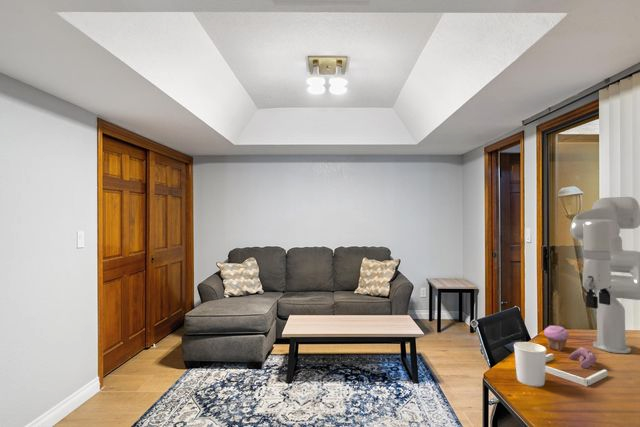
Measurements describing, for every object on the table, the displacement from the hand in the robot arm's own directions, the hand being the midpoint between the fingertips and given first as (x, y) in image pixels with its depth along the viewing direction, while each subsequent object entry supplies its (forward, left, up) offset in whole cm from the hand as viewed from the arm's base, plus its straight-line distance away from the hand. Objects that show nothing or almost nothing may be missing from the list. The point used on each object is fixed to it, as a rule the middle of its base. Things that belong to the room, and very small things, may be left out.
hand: (598, 305), depth 123 cm
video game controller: (-12, -10, -26) cm, 31 cm away
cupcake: (-20, -24, -26) cm, 41 cm away
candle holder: (+20, -13, -26) cm, 35 cm away
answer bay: (0, -10, -26) cm, 28 cm away
